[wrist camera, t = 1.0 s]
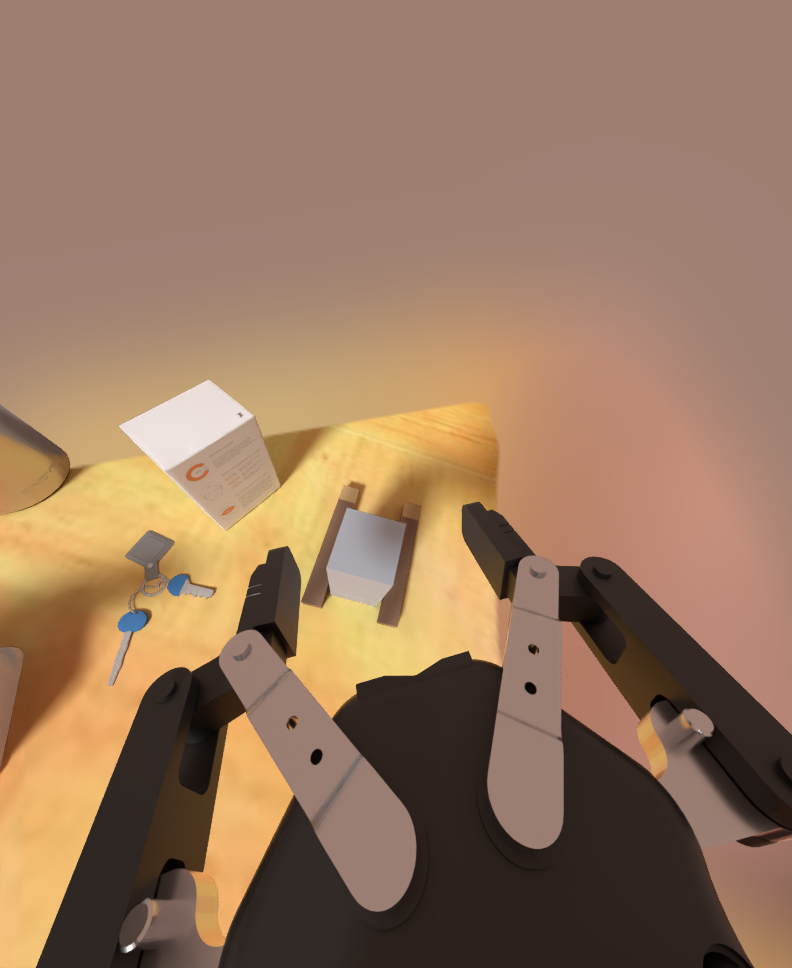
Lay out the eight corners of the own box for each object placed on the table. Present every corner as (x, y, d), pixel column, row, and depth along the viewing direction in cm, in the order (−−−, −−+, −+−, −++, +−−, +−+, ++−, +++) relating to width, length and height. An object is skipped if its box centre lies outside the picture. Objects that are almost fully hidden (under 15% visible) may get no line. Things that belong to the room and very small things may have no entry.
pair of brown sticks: (302, 603, 30) (301, 601, 29) (343, 490, 38) (343, 485, 36) (395, 627, 31) (397, 626, 29) (418, 511, 38) (420, 506, 37)
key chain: (131, 535, 31) (126, 532, 31) (216, 521, 34) (213, 518, 33) (110, 686, 25) (103, 687, 25) (216, 656, 28) (212, 656, 27)
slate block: (330, 594, 31) (326, 567, 21) (344, 550, 34) (347, 507, 24) (375, 606, 32) (392, 585, 21) (386, 561, 34) (406, 523, 24)
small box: (248, 457, 38) (209, 376, 27) (282, 486, 37) (257, 415, 25) (188, 498, 34) (114, 424, 23) (225, 533, 33) (165, 472, 22)
